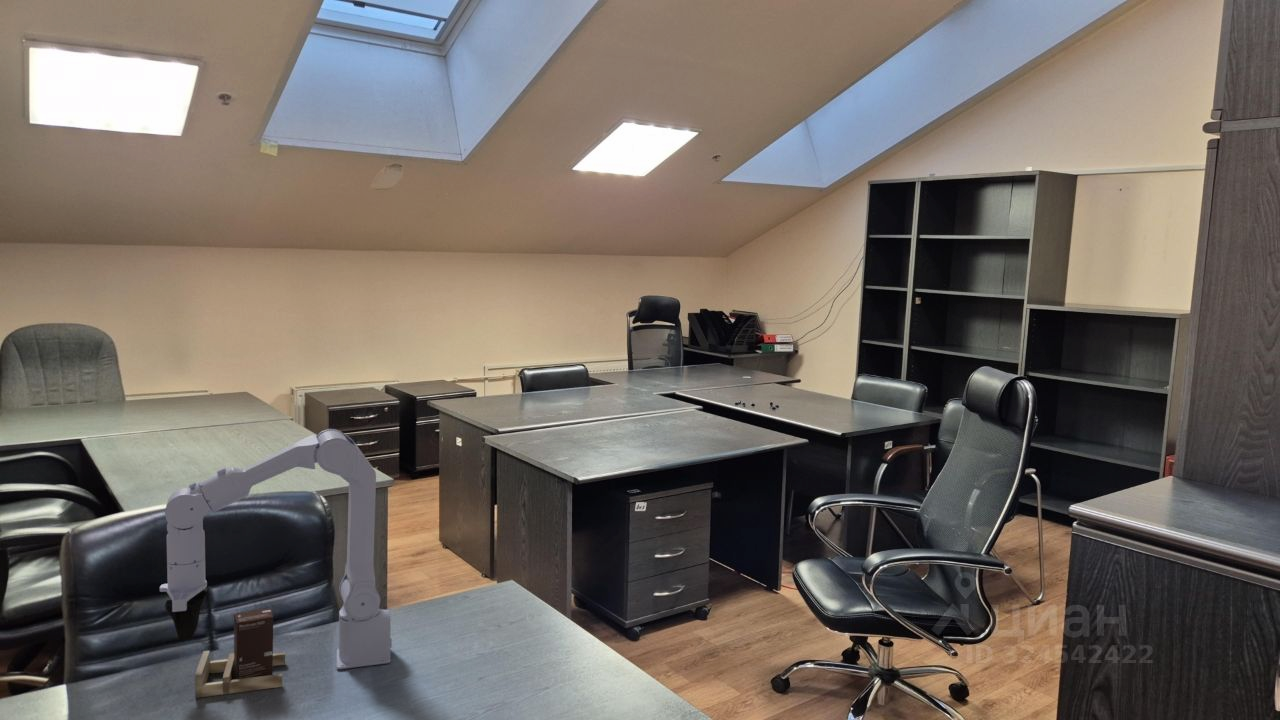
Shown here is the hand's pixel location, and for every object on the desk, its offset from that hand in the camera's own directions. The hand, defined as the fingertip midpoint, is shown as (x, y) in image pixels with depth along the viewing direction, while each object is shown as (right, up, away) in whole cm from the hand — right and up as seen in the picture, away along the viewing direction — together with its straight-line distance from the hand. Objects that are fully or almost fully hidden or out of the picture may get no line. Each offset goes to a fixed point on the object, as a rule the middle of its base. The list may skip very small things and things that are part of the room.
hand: (187, 635), depth 140 cm
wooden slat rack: (+7, -9, +4) cm, 12 cm away
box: (+9, -10, +5) cm, 14 cm away
